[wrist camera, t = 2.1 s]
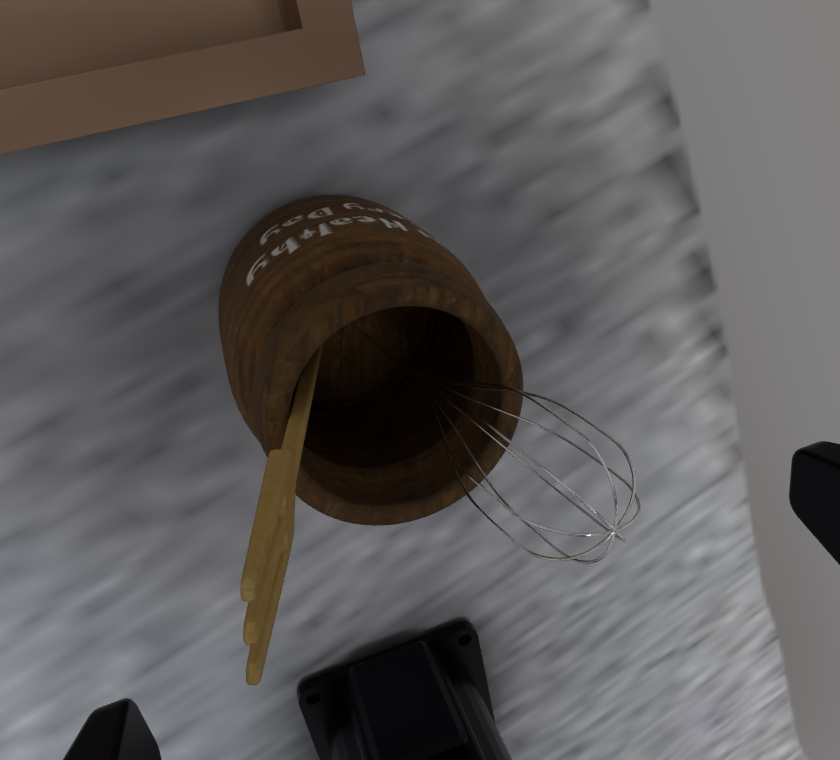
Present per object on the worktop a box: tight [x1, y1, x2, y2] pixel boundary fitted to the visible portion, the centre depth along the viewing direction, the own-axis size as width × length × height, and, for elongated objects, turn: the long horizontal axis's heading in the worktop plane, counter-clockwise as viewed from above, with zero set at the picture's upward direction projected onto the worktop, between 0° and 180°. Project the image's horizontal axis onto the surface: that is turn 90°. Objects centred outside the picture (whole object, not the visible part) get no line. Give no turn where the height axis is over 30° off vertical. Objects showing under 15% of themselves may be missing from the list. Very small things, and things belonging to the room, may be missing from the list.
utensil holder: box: [219, 195, 641, 685], centre depth 14 cm, size 6×6×12 cm
